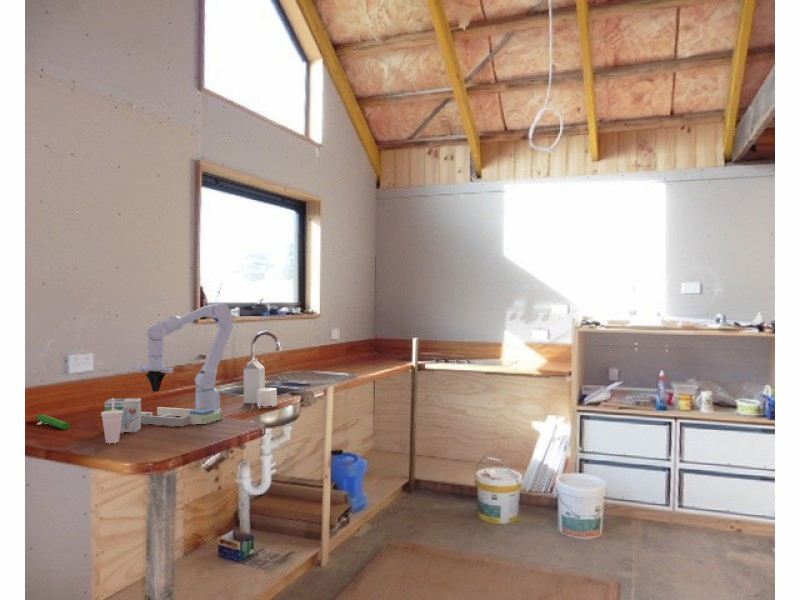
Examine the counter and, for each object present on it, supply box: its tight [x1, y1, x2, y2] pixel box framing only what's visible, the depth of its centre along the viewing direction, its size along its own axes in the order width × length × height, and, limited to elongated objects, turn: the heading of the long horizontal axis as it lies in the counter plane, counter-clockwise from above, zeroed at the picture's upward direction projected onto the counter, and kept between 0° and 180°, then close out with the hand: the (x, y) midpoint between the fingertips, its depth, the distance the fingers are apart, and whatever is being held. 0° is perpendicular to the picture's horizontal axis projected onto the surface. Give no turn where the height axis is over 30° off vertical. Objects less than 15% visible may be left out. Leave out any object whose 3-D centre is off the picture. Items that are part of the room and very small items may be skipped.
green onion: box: [36, 413, 71, 430], centre depth 211 cm, size 5×3×30 cm
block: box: [190, 408, 214, 416], centre depth 215 cm, size 6×6×4 cm
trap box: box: [141, 406, 223, 427], centre depth 216 cm, size 16×29×3 cm, turn 72°
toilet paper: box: [256, 387, 278, 410], centre depth 246 cm, size 8×11×7 cm
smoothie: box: [100, 397, 123, 445], centre depth 184 cm, size 6×6×14 cm
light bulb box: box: [104, 397, 142, 434], centre depth 200 cm, size 11×7×11 cm, turn 105°
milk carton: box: [243, 357, 266, 404], centre depth 255 cm, size 7×7×19 cm
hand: (155, 391), depth 224 cm, fingers closed
